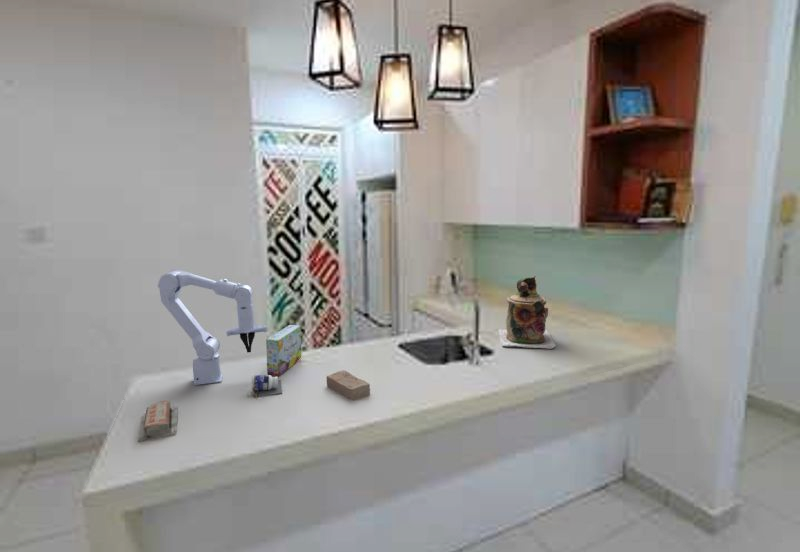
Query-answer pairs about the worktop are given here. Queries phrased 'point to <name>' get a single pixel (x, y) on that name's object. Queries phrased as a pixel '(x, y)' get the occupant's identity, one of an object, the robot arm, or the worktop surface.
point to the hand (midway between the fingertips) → (249, 351)
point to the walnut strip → (255, 393)
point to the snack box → (283, 350)
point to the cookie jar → (526, 318)
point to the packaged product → (159, 421)
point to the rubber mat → (271, 390)
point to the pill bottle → (264, 382)
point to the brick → (348, 385)
